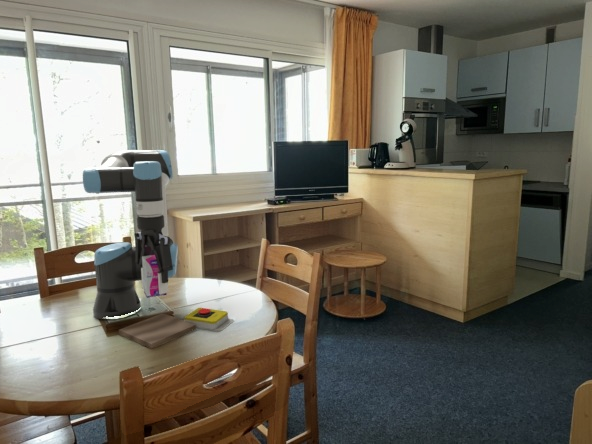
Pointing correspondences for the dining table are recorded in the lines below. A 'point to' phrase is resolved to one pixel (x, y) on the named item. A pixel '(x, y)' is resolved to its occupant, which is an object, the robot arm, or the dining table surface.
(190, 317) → the emergency button
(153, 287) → the supplement box
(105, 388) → the dining table surface
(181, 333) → the walnut board
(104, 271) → the robot arm
